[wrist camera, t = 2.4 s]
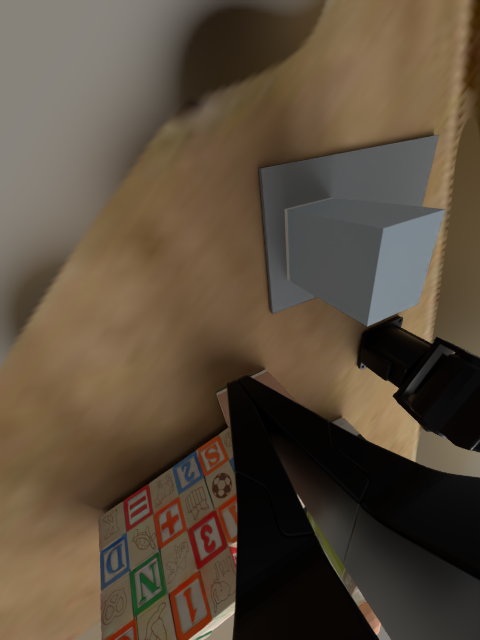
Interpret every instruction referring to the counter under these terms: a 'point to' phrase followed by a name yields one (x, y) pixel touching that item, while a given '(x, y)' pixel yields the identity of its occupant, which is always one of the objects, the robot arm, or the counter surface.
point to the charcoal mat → (337, 195)
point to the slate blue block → (361, 254)
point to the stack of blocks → (173, 551)
